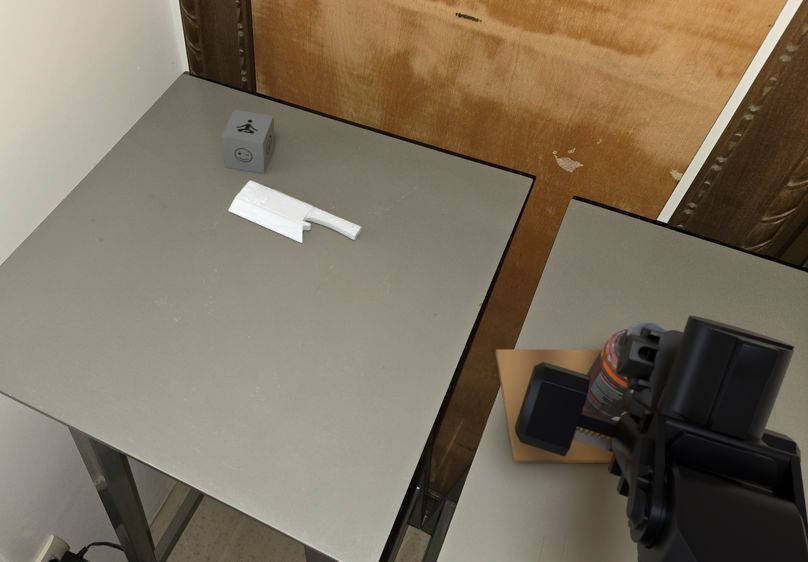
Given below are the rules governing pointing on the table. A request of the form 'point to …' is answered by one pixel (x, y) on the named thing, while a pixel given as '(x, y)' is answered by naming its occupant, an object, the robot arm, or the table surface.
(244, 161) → the dice cube
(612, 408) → the supplement bottle
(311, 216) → the white plastic blade
